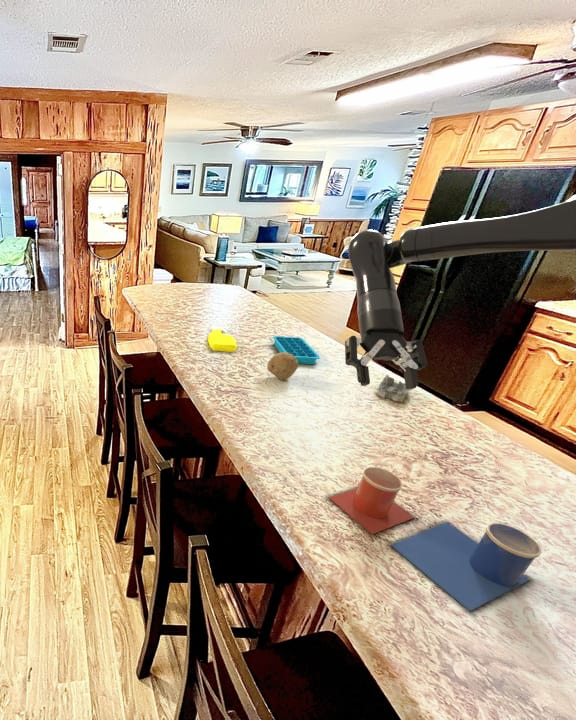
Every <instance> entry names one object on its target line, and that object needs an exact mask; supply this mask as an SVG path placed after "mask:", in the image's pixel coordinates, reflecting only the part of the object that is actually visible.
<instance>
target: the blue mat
mask: <svg viewBox="0 0 576 720" xmlns="http://www.w3.org/2000/svg"><path fill="white" fill-rule="evenodd" d="M478 543H479V542H476V541H475V540H473V538H471V537H469V536H468V535H467V534H465V533H464V532H462V531H461V530H459V529H458V528H457V527H455V526H453V525H452V524H450V523H449V522H448V521H446V522H443V523H441V524H439V525H437V526H434V527H431V528H429V529H426V530H424V531H422V532H419V533H417V534H414V535H412V536H409V537H407V538H404V539H402V540H399V541H397V542H395V543H392V544H390V547H392V549H394V550H395V551H396V552H398V553H399V554H400V555H401V556H402V557H403V558H405V559H406V560H407V561H409V563H411V564H412V565H413V566H415V567H416V569H418V570H419V571H421V572H422V573H423V575H426V576H427V577H428V578H429V579H430V581H433V582H434V583H435V584H436V585H437V586H439V587H440V588H441V589H442V590H443V591H444V592H445V593H447V594H448V595H449V596H450V597H451V598H453V599H454V600H455V601H456V602H458V603H459V604H460V605H461V606H463V607H464V608H465V609H466V610H468V611H469V612H471V611H473V610H475V609H477V608H479V607H481V606H483V605H485V604H486V603H489V602H490V601H492V600H494V599H496V598H498V597H500V596H502V595H503V594H505V593H507V592H509V591H511V590H513V589H515V588H517V587H518V586H519V587H520V586H521V585H522V584H525V583H526V582H528V581H530V578H529V577H527V576H525V574H523V575H522V577H521V578H520V579H519V581H518V582H517V583H516V585H514V586H503V585H499V584H496V583H494V582H492V581H490V580H488V579H486V578H485V577H483V576H482V575H481V574H479V573H478V572H477V571H476V570H475V569H474V568H473V567H472V565H471V563H470V560H469V559H470V556H471V555H472V553H473V551H474V550H475V548H476V547H477V545H478Z"/></svg>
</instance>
